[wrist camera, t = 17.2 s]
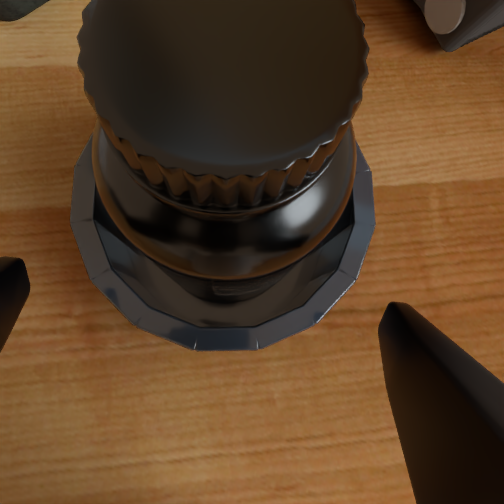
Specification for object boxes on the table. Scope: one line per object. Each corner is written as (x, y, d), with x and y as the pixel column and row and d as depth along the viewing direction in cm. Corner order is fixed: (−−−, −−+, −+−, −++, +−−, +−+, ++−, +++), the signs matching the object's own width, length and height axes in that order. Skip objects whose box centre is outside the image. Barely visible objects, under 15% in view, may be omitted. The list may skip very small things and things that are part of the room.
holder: (378, 231, 19) (432, 198, 14) (225, 394, 17) (227, 423, 12) (226, 88, 20) (228, 11, 15) (64, 228, 18) (3, 191, 13)
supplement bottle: (311, 181, 18) (464, -66, 7) (280, 318, 17) (406, 307, 5) (175, 146, 18) (89, -172, 7) (133, 281, 17) (-70, 186, 5)
